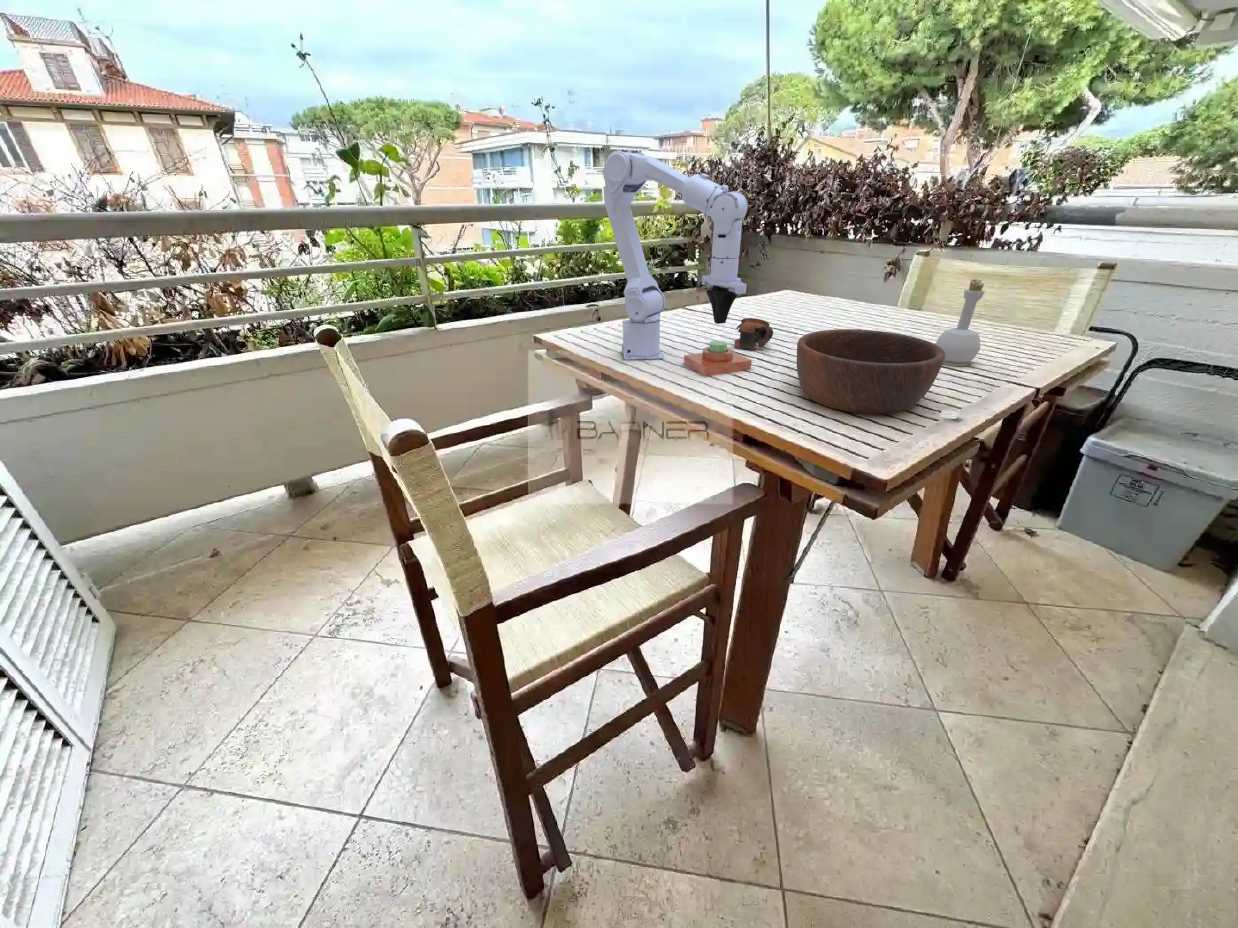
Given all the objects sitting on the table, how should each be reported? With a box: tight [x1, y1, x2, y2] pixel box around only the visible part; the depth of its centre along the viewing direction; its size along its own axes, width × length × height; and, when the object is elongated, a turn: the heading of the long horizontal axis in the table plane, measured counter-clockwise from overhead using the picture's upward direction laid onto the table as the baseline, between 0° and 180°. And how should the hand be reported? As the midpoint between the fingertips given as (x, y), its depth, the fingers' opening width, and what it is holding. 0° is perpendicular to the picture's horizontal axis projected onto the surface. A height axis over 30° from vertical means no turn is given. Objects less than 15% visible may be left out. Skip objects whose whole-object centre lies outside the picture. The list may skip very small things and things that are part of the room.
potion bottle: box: [934, 278, 986, 367], centre depth 108 cm, size 9×9×18 cm
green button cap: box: [708, 340, 728, 353], centre depth 111 cm, size 4×4×2 cm
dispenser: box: [683, 346, 752, 377], centre depth 112 cm, size 12×10×4 cm
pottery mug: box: [734, 317, 774, 351], centre depth 126 cm, size 12×10×8 cm
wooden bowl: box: [796, 328, 945, 415], centre depth 92 cm, size 25×25×10 cm
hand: (719, 323), depth 108 cm, fingers closed
